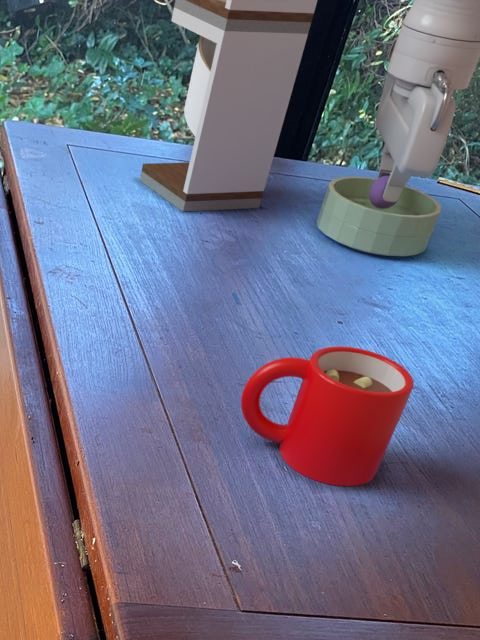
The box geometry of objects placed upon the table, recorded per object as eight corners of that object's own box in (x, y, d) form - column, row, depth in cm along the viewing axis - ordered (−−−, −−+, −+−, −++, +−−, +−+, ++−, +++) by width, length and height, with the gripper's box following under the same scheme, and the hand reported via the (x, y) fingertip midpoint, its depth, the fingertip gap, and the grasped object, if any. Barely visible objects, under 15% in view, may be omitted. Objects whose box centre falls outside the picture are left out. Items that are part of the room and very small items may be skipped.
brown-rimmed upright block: (213, 178, 132) (295, -158, 108) (259, 207, 125) (357, -144, 101) (139, 180, 128) (208, -169, 104) (182, 211, 121) (267, -155, 97)
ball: (392, 205, 120) (403, 174, 118) (397, 215, 117) (408, 183, 115) (362, 200, 120) (373, 169, 118) (366, 210, 117) (378, 178, 115)
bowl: (414, 228, 126) (430, 187, 123) (433, 267, 116) (451, 224, 113) (310, 211, 126) (323, 169, 123) (321, 249, 116) (335, 205, 113)
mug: (231, 414, 84) (257, 327, 79) (373, 444, 83) (409, 357, 78) (226, 462, 78) (255, 371, 73) (379, 494, 77) (419, 404, 72)
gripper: (483, 89, 101) (428, 228, 110) (444, 46, 116) (398, 171, 125) (420, 79, 101) (371, 218, 110) (390, 37, 116) (349, 163, 125)
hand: (385, 193), depth 118 cm, fingers closed on ball, 3 cm apart
